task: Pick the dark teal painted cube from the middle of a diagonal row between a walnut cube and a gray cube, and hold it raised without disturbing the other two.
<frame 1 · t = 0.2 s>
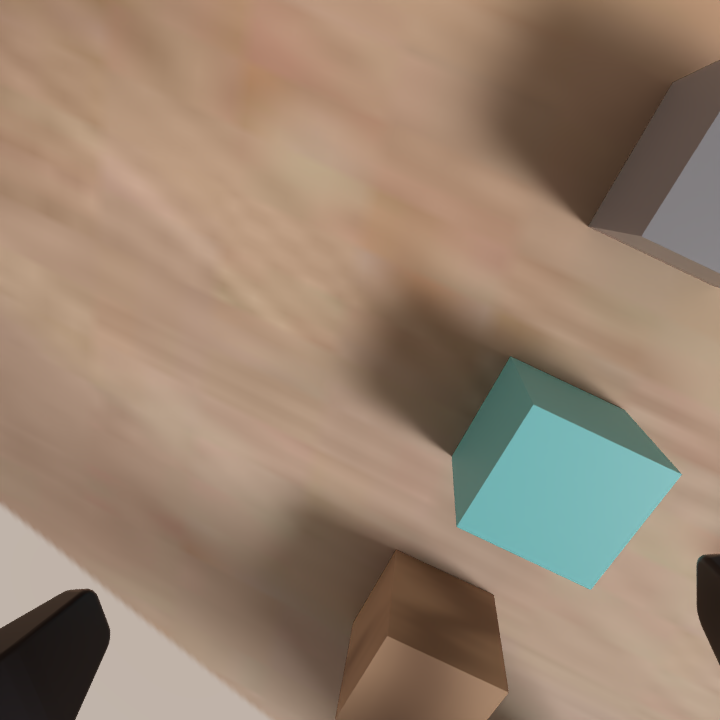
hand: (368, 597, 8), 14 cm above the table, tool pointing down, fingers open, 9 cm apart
walnut cube: (421, 608, 24), on the table
teal cube: (534, 433, 21), on the table
gray cube: (692, 189, 18), on the table
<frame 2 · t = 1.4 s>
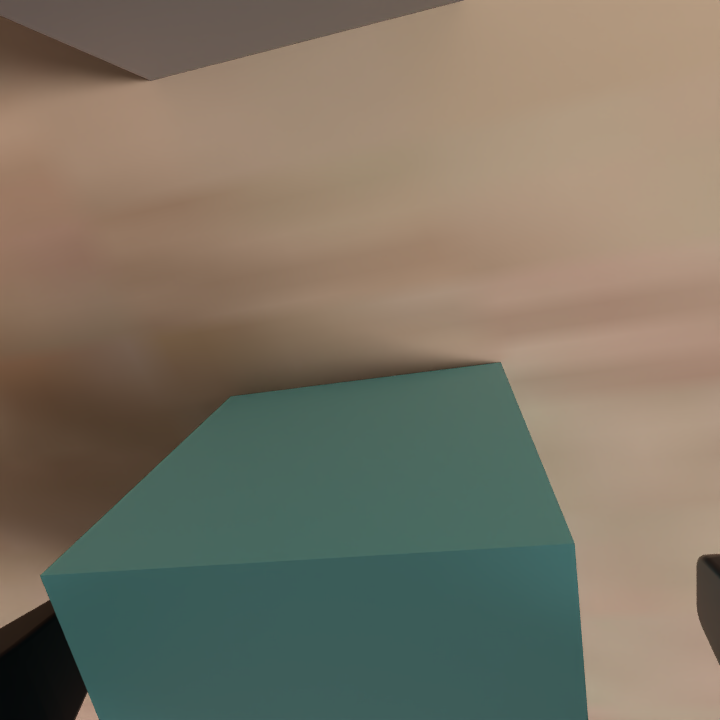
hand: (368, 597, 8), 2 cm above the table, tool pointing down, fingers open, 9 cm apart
teal cube: (382, 498, 10), on the table
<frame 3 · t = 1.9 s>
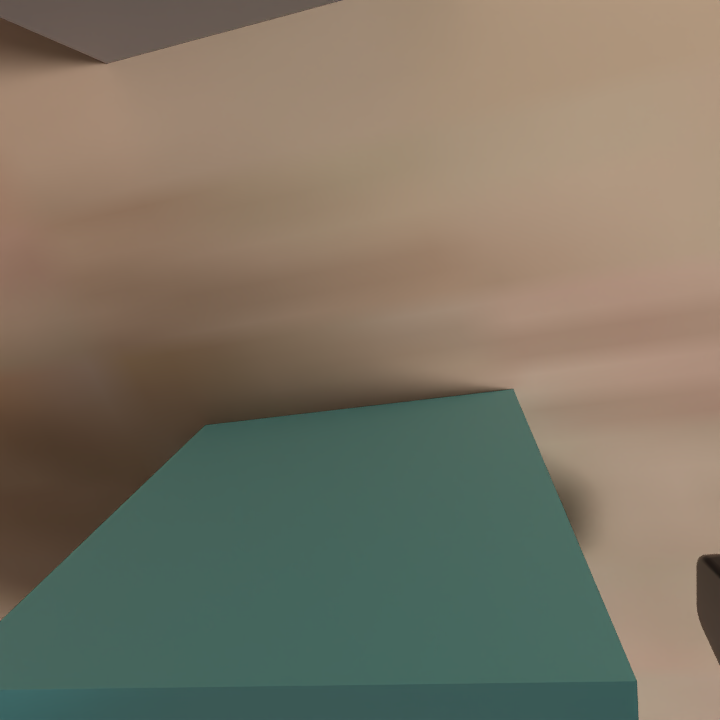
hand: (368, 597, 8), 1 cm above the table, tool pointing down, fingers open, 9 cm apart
teal cube: (377, 540, 9), on the table
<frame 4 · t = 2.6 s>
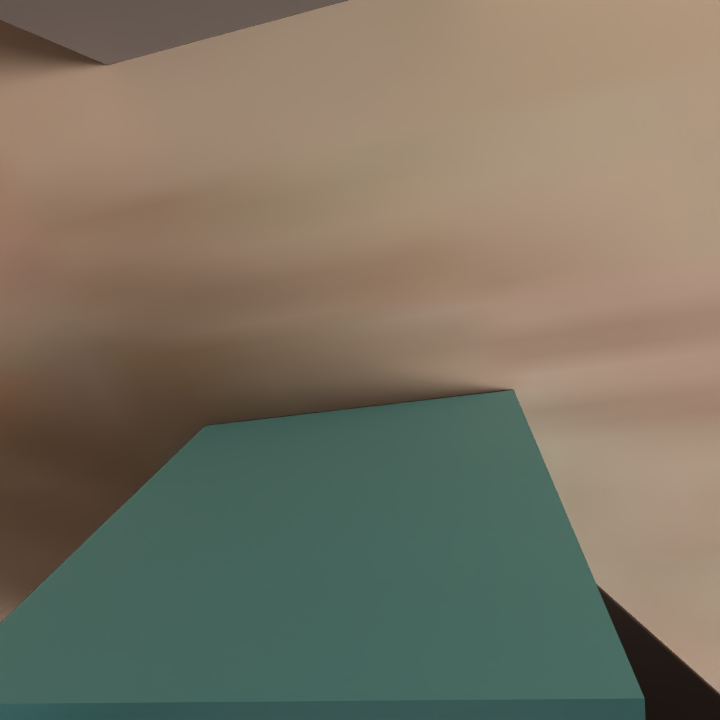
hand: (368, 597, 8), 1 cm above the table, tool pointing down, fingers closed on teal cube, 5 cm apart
teal cube: (377, 543, 9), on the table, touching gripper
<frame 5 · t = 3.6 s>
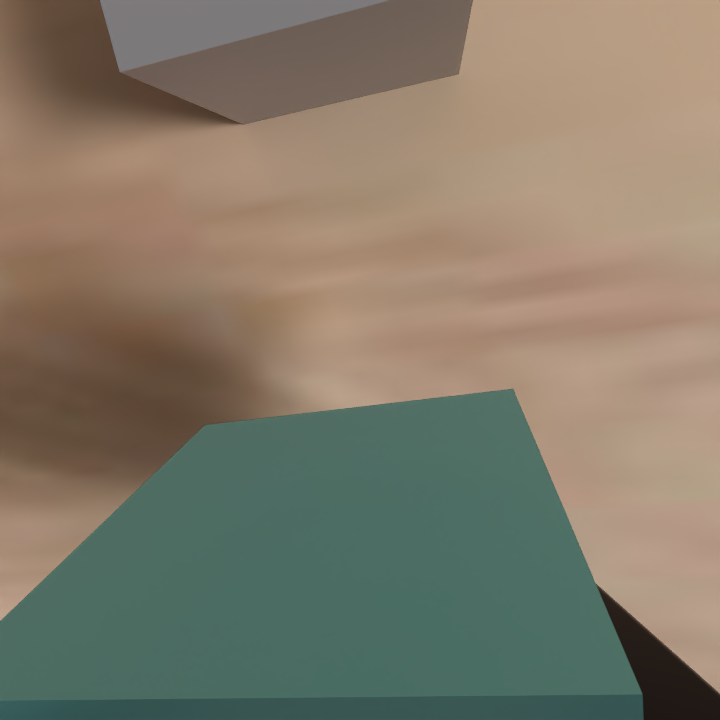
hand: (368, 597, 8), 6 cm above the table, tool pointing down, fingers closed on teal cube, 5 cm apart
teal cube: (376, 542, 9), point 5 cm above the table, touching gripper
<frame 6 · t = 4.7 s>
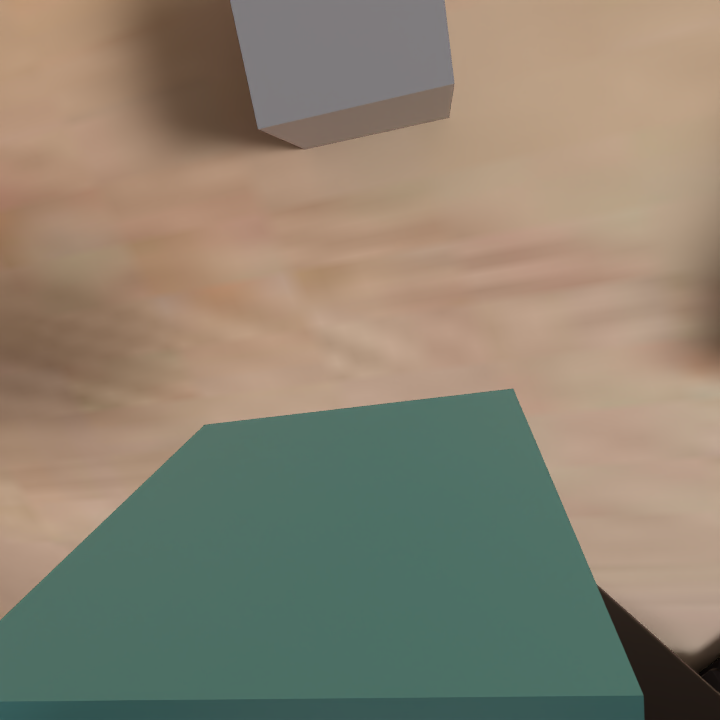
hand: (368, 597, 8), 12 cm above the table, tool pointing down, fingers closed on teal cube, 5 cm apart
teal cube: (376, 543, 9), point 11 cm above the table, touching gripper
gray cube: (362, 53, 17), on the table
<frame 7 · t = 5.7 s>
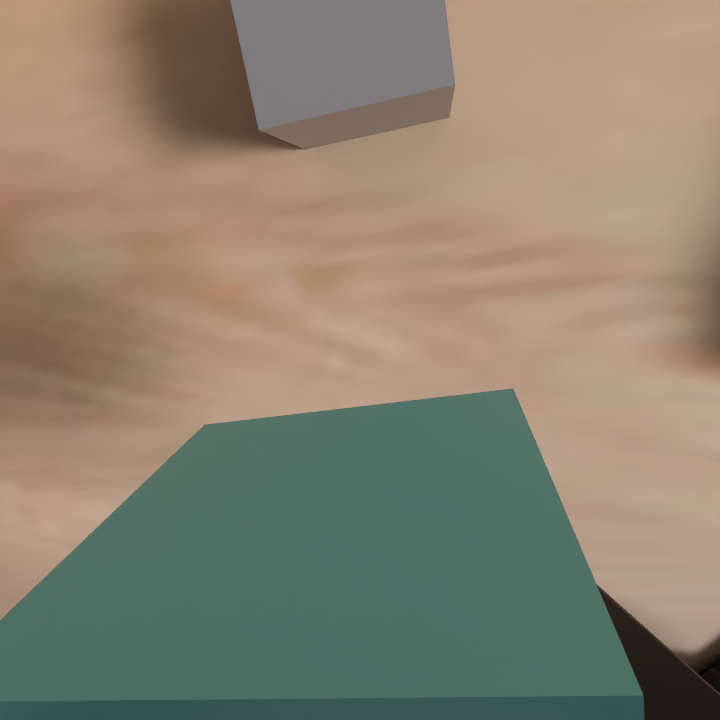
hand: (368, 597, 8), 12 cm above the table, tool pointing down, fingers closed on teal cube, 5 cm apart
teal cube: (376, 543, 9), point 11 cm above the table, touching gripper
gray cube: (362, 52, 17), on the table
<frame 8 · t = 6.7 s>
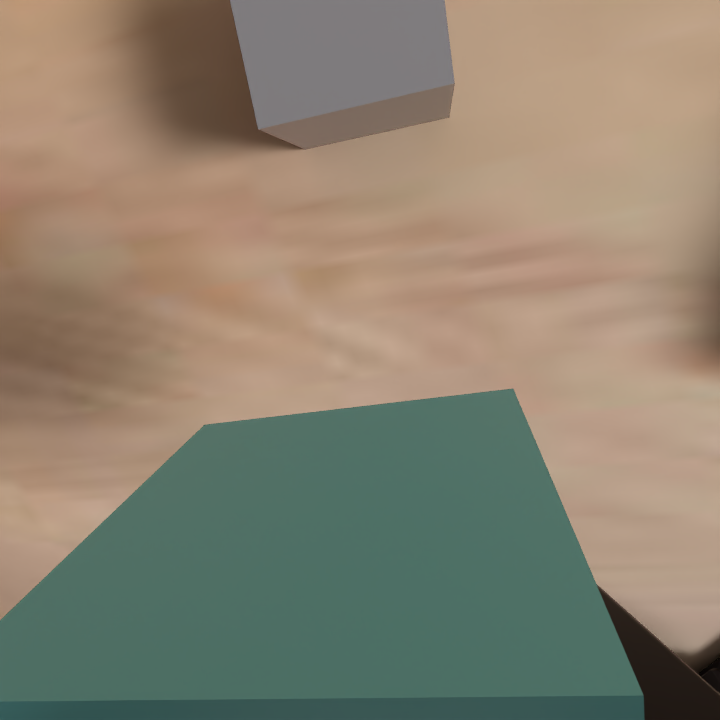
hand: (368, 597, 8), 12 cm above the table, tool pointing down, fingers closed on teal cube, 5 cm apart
teal cube: (376, 543, 9), point 11 cm above the table, touching gripper
gray cube: (362, 53, 17), on the table
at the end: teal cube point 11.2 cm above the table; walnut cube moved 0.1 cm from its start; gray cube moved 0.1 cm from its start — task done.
